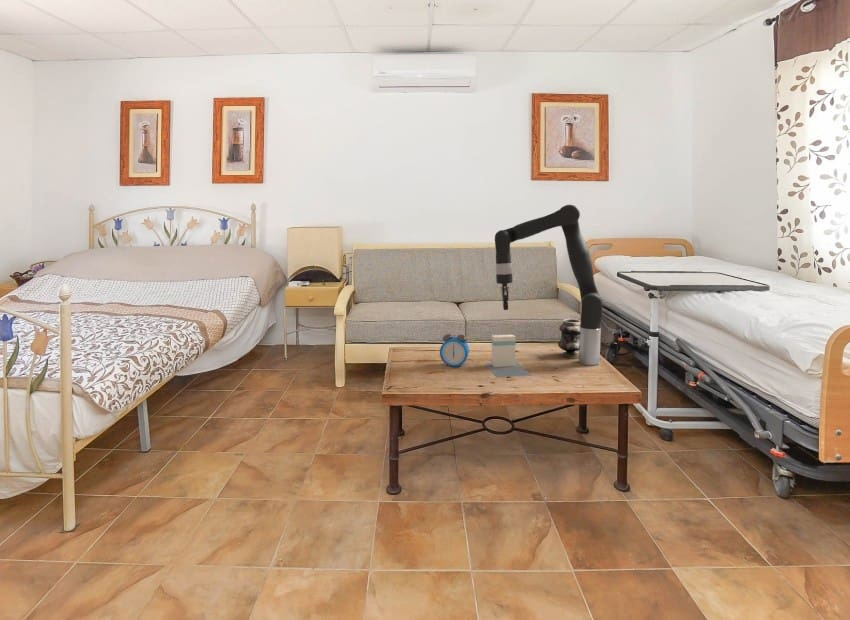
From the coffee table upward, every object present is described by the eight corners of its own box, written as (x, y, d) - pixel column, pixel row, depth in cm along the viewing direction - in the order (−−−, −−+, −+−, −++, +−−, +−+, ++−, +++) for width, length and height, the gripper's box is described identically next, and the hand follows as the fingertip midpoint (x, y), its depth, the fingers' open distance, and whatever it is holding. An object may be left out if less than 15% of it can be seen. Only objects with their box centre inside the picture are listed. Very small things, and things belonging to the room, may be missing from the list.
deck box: (491, 364, 247) (491, 335, 244) (512, 363, 248) (513, 334, 246) (493, 367, 243) (494, 337, 240) (515, 365, 244) (515, 336, 242)
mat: (483, 364, 249) (483, 363, 249) (516, 362, 251) (516, 361, 251) (496, 378, 228) (496, 377, 228) (532, 376, 230) (532, 375, 230)
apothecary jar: (585, 359, 256) (587, 322, 253) (560, 359, 257) (562, 322, 253) (579, 352, 268) (580, 317, 265) (555, 352, 269) (556, 317, 265)
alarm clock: (439, 366, 246) (439, 335, 243) (442, 362, 252) (441, 332, 249) (467, 368, 243) (467, 336, 240) (469, 364, 249) (469, 333, 246)
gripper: (495, 273, 255) (497, 308, 256) (496, 274, 242) (498, 311, 243) (511, 272, 254) (512, 308, 255) (512, 273, 241) (514, 310, 242)
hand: (505, 309), depth 249 cm, fingers closed
